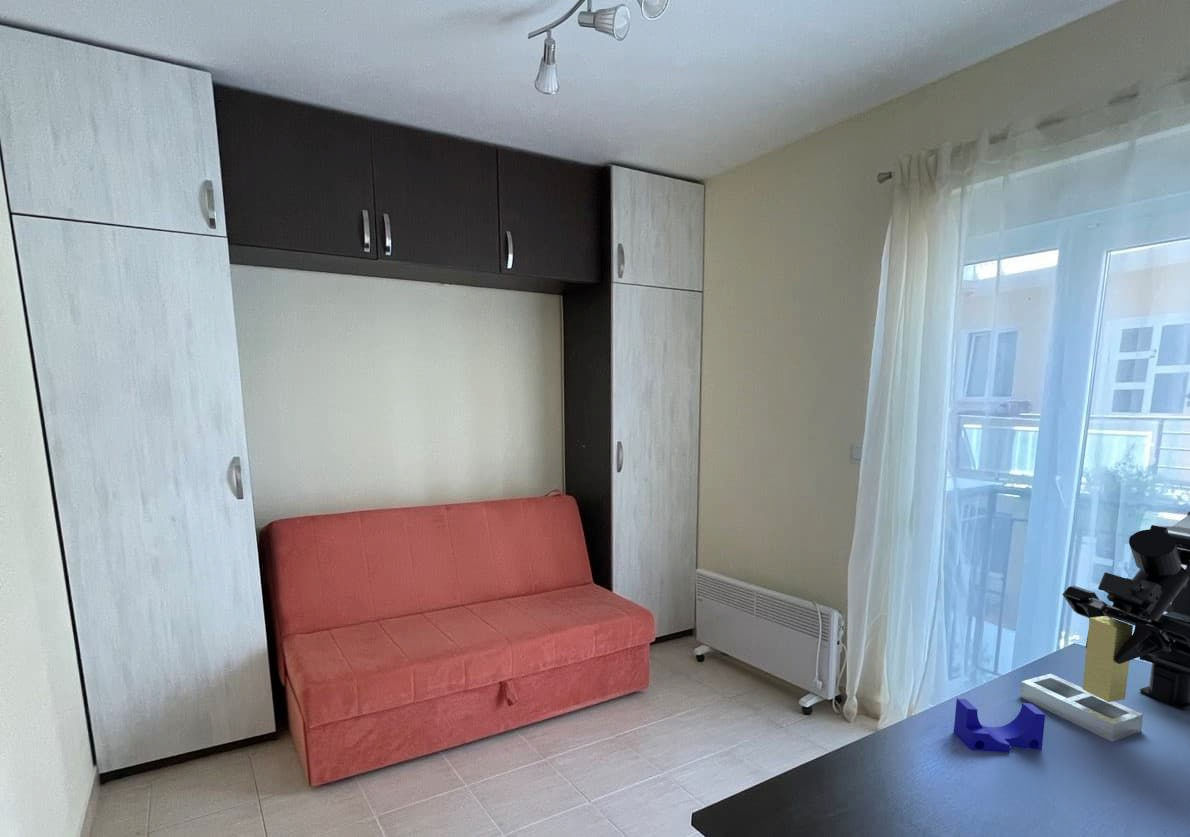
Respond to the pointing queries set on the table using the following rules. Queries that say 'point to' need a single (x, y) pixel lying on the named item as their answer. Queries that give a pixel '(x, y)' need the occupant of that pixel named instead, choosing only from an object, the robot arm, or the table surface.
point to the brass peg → (1106, 658)
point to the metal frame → (1082, 707)
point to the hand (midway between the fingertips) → (1101, 655)
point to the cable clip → (999, 729)
